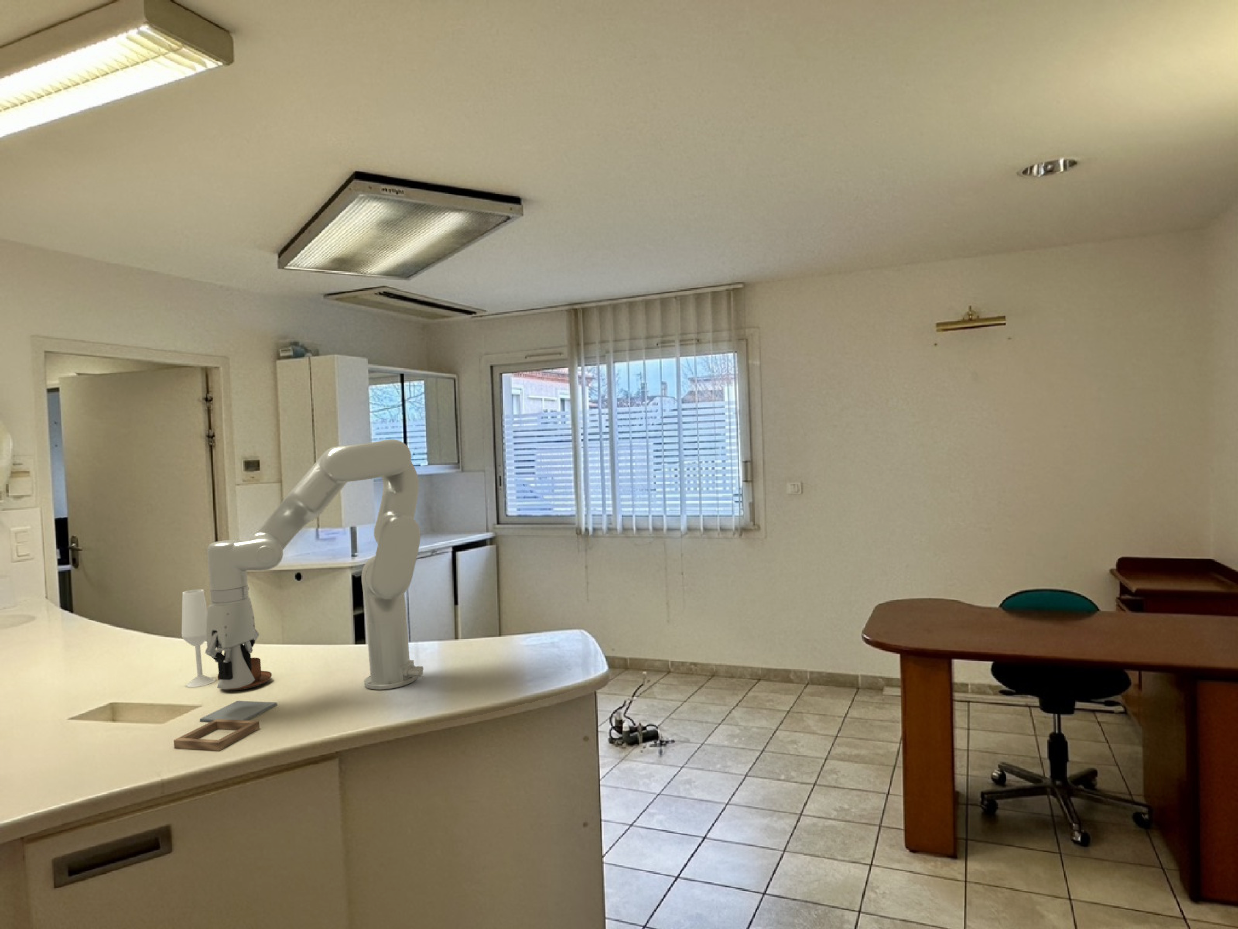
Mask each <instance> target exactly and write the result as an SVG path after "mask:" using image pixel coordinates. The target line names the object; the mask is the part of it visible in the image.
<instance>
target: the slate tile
mask: <svg viewBox="0 0 1238 929" xmlns="http://www.w3.org/2000/svg"><path fill="white" fill-rule="evenodd" d="M277 705H278V702H275V701H273V702H272V701H253V700H252V701H250V700H249V701H248V700H236V701H234V702H233V703H232V702H231V703H229V704H228V705H226V706H223V707H222V708H220V709H217V710H216V711H213V712H211V713H209V714H207V715H205V716H203V717H201V718H199V722H201V723H202V722H203V723H204V722H205V723H210V722H212V721H214V720H216V719H225V720H245V721H250V720H251V719H253V718H255V717H257V716H259V715H260V714H262V713H265V712H266V711H268V710H270V709H272V708H274V707H276V706H277Z"/></svg>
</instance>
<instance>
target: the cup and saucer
mask: <svg viewBox="0 0 1238 929" xmlns="http://www.w3.org/2000/svg"><path fill="white" fill-rule="evenodd" d="M251 667H252V670H251V673H252V675H253V677H254V679H255V680H254V681H253V682H252V683H251V684H249V685H246V686H243V687H240V688H233V689H225V690H227V691H239V690H241V691H242V690H248V689H252V688H255V687H258V686H261V685H263V684H265V683H267V682H268V681H269V680H270V679H271V678H272V676H273V674H272V672H271V671H267V670H262V665H261V658H259V657H251ZM217 680H218V681H219V680H220V679H219V673H217Z"/></svg>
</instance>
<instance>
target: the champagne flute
mask: <svg viewBox="0 0 1238 929" xmlns="http://www.w3.org/2000/svg"><path fill="white" fill-rule="evenodd" d="M205 596H206V595H205V591H204V589H192V590H186V591H183V592H182V596H181V597H182V601H181V603H182V604H181V606H182V607H181V638H182V639H183V641H185V642H186V643H188V644H189V645H191V646H192V647H195V648H194V650H195V662H196V672H197V673H196V674H197V676H195V677H194V678H192V680H191V681H189V682H187V683H186V685H185V687H188V688H197V687H198V688H199V687H203V686H207V685H209V684H213V683H214V682H215V681H216V679H215V678H213V677H210V676H207V675H204V673H203V664H202V651H201V650H202V649H201V646H202V645H203V644H204V643H205V642H207V637H206V624H207V612H208V606H207V602H206V597H205Z"/></svg>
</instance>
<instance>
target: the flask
mask: <svg viewBox="0 0 1238 929" xmlns="http://www.w3.org/2000/svg"><path fill="white" fill-rule="evenodd" d="M229 661H231V662H232V672H233V678H232V679H231V680H218V684H217V687H216V688H217V689H221V690H226V689H233V688H240V687H243V686H246V685H249V684H251V683H252V682H253V681H254V680H255V679H254V677H253V675H252V673H251V671H250V670H249V668H248V666H247V664H246V662H245V660H244V658H243V655H242V652H241V647H240V645H237V646H234V647H232V648H231V651H230V658H229Z"/></svg>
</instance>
